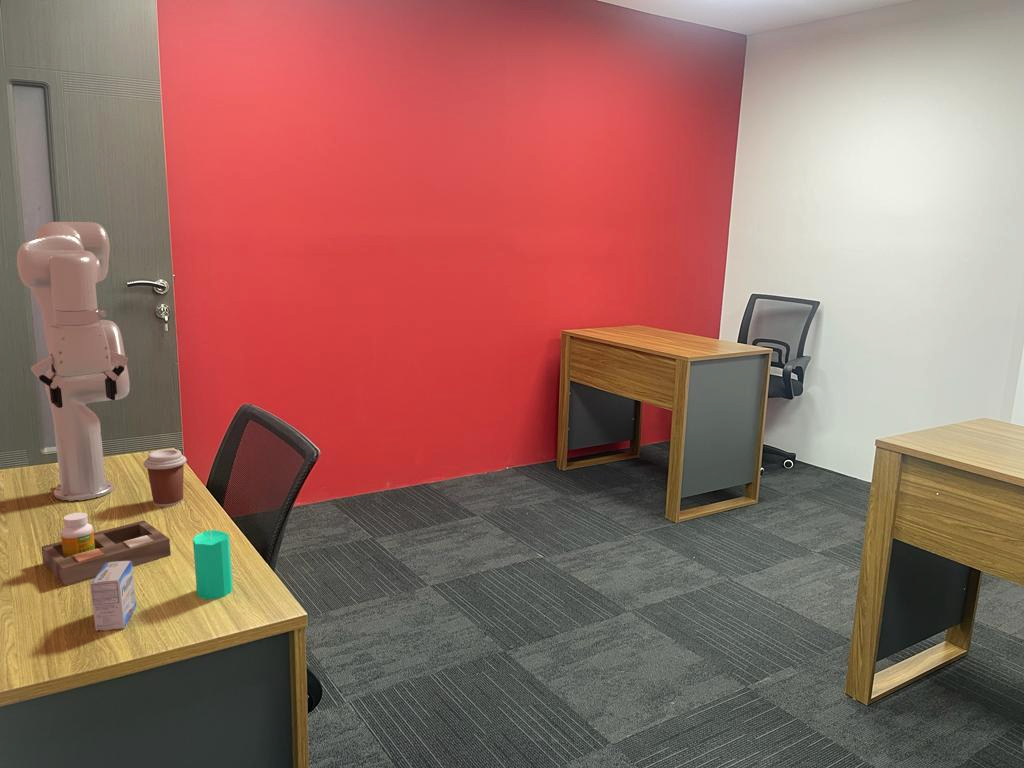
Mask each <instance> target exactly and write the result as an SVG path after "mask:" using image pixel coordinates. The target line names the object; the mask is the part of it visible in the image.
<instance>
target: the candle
mask: <svg viewBox="0 0 1024 768" xmlns="http://www.w3.org/2000/svg"><path fill="white" fill-rule="evenodd" d="M230 541H231V540H230V535H229V534H228V533H227V532H224V531H221V530H215V529H212V528H209V530H206V531H202V532H201V533H198V534H195V536H194V537H193V539H192V544H193V557H194V559H193V561H194V571H195V583H196V584H195V585H196V595H197V596H198V598H200V599H204V600H217V599H221V598H223V597H226V596H227V594H228V595H230V594H231V593H232V592H233V588H234V587H233V574H232V573H233V572H232V558H231V557H232V556H231V542H230Z"/></svg>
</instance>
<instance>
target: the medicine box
mask: <svg viewBox="0 0 1024 768" xmlns="http://www.w3.org/2000/svg"><path fill="white" fill-rule="evenodd" d="M133 567H134V566H132V561H116V562H109V563H105V564H104V566H103V567H102V569H101V570H100V572H99V573H98V574H97V576H96V577H94V578H93V579H92V582H91V583H90V584H89V586H90V595H91V596H90V597H91V601H92V603H91V604H92V611H93V618H94V619H93V620H94V627H95V631H96V632H102V631H101V630H106V631H113V630H112V629H116V630H123V629H122V628H124V629H125V627H126V626H127V624H128V622H129V620H130V619H131V616H132V615H133V613H134V611H135V609H136V608H137V597H136V588H135V579H134V578H135V577H134V568H133ZM98 630H100V631H98Z"/></svg>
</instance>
